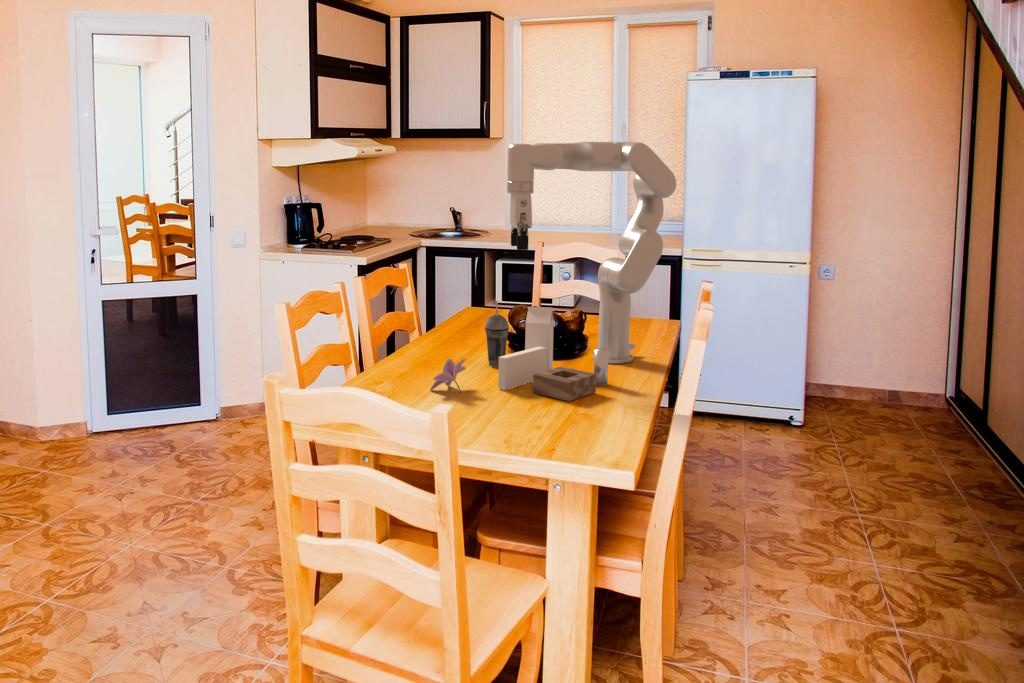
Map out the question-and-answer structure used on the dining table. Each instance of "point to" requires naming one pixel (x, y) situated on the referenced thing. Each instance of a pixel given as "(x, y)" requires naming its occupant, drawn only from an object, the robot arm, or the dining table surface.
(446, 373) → the lily
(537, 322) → the milk carton
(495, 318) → the beverage cup
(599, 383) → the steel peg
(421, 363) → the dining table surface
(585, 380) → the socket block
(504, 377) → the backstop wall
